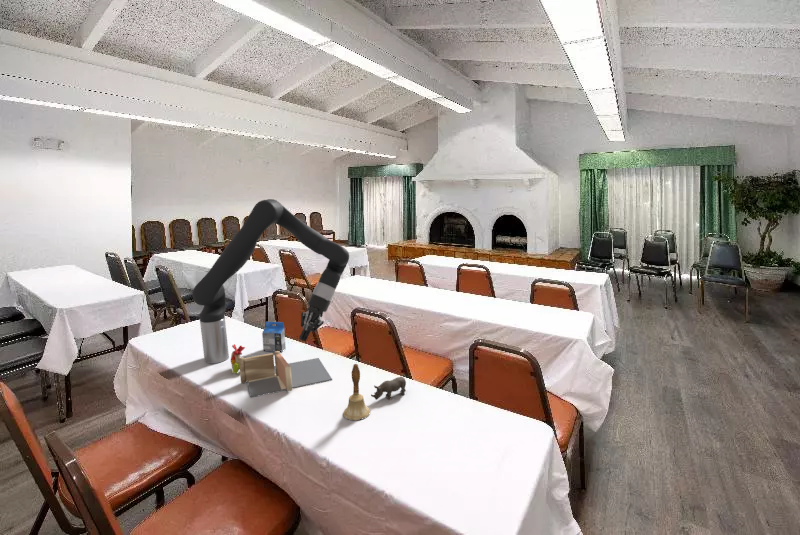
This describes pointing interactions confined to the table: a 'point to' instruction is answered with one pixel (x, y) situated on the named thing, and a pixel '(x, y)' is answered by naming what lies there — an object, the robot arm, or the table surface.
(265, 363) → the fence post section
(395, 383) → the rhino figurine
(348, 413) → the hand bell
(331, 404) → the table surface
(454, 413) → the table surface
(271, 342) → the label tape box
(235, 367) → the bird rattle
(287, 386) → the swing fence panel
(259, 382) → the card
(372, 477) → the table surface
